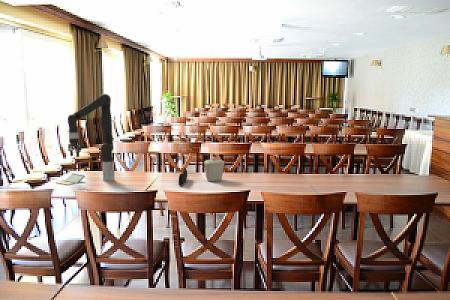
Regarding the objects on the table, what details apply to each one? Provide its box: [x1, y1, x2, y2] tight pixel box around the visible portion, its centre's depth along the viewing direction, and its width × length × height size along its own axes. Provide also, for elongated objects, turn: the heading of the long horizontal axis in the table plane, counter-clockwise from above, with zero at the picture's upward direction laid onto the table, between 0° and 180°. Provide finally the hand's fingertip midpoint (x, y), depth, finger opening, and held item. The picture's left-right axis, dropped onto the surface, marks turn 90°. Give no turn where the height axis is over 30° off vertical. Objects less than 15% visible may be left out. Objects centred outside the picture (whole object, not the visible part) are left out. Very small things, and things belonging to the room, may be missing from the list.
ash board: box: [55, 179, 77, 186], centre depth 343 cm, size 16×8×2 cm, turn 56°
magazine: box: [178, 167, 188, 186], centre depth 349 cm, size 17×3×30 cm
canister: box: [203, 156, 226, 183], centre depth 358 cm, size 18×18×21 cm
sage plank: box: [64, 173, 86, 184], centre depth 350 cm, size 16×10×2 cm, turn 56°
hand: (74, 156), depth 351 cm, fingers open, 8 cm apart
